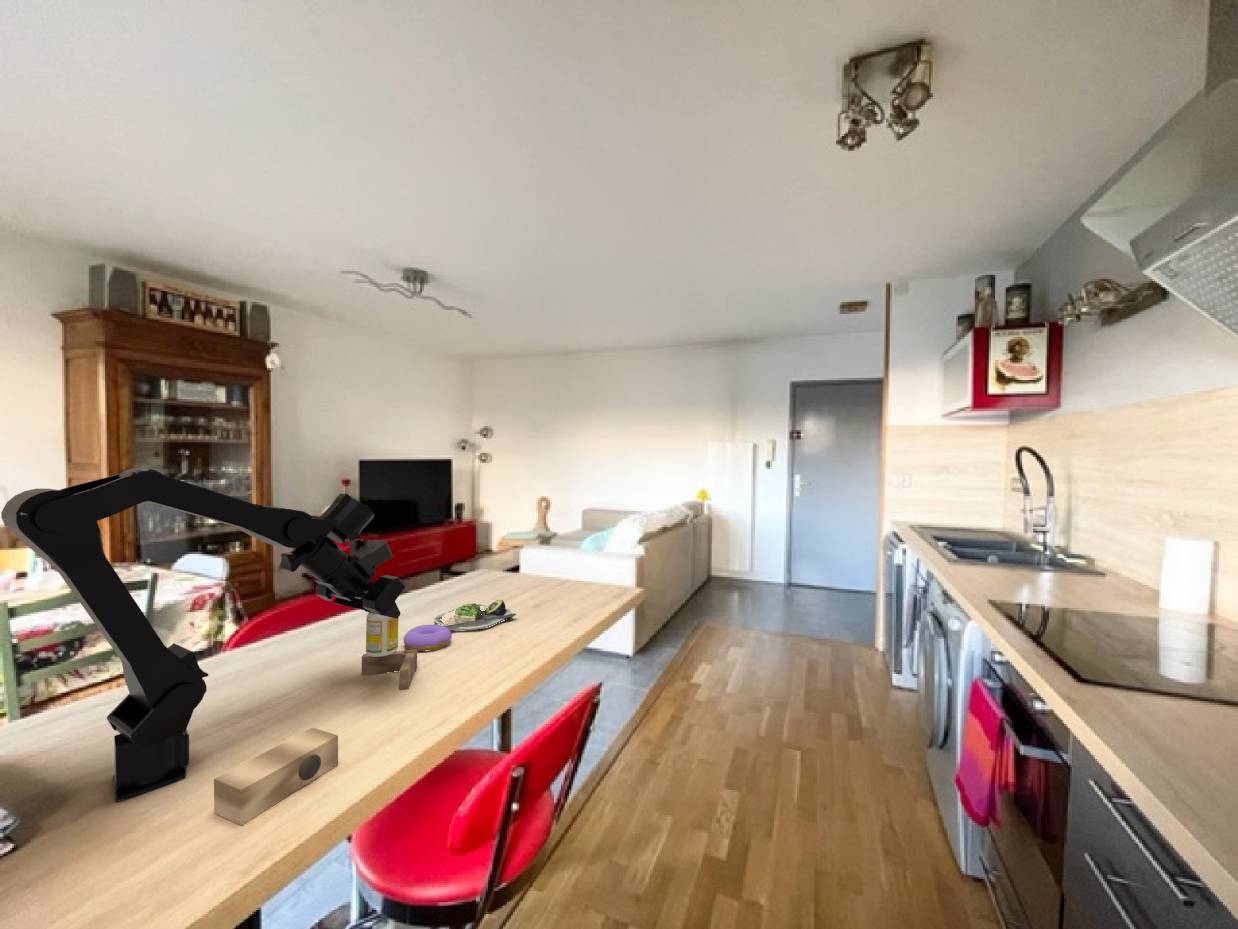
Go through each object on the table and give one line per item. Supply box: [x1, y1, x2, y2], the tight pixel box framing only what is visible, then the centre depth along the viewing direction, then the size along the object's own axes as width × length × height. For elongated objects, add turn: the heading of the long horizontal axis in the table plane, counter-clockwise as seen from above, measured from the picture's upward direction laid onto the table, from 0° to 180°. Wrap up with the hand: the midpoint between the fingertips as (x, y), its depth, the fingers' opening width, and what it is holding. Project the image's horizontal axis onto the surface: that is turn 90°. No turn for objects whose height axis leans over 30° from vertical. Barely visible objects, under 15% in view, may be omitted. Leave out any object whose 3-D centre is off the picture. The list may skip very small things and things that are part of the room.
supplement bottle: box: [365, 612, 400, 657], centre depth 92 cm, size 5×5×10 cm
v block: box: [361, 649, 418, 691], centre depth 95 cm, size 8×13×4 cm, turn 59°
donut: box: [402, 624, 452, 652], centre depth 110 cm, size 10×9×5 cm
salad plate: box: [433, 599, 517, 631], centre depth 125 cm, size 19×18×5 cm
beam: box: [213, 727, 339, 826], centre depth 62 cm, size 12×5×4 cm, turn 157°
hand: (389, 613), depth 93 cm, fingers closed on supplement bottle, 5 cm apart
